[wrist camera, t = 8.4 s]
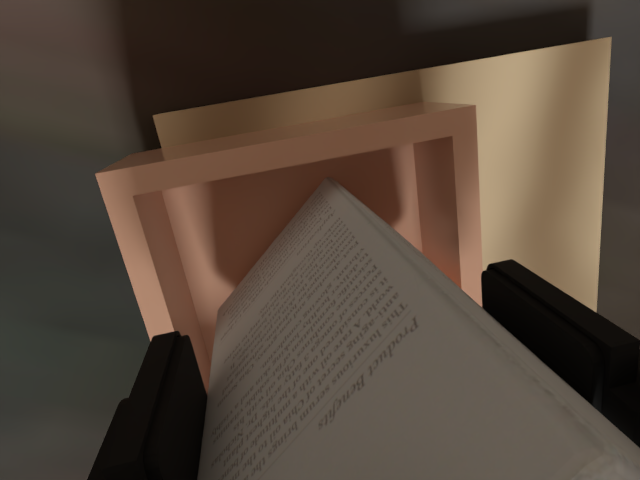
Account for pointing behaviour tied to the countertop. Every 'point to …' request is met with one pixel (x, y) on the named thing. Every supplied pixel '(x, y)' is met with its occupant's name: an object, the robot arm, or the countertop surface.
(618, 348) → the robot arm
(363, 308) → the skincare box
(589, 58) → the board
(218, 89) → the countertop surface
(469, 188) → the pink square tray
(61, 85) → the countertop surface
